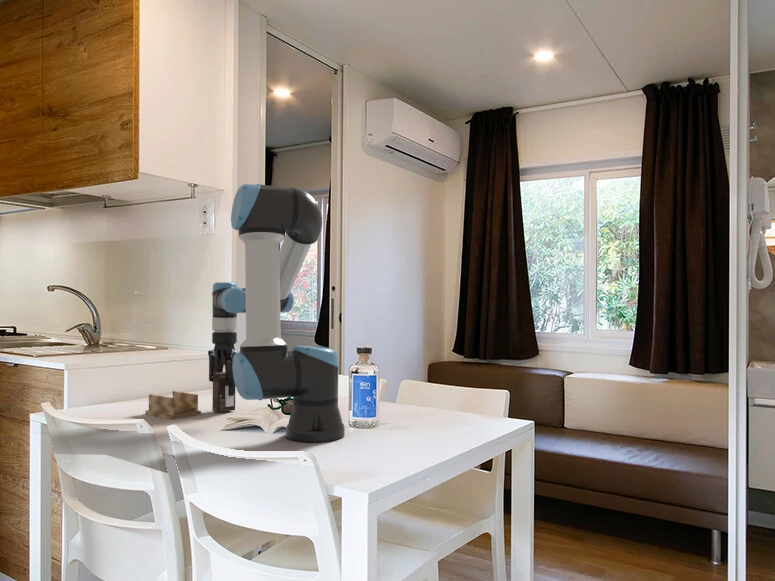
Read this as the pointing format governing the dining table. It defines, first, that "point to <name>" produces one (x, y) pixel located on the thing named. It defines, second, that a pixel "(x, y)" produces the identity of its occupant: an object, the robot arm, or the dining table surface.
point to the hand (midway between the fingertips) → (223, 405)
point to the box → (220, 393)
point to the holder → (173, 405)
